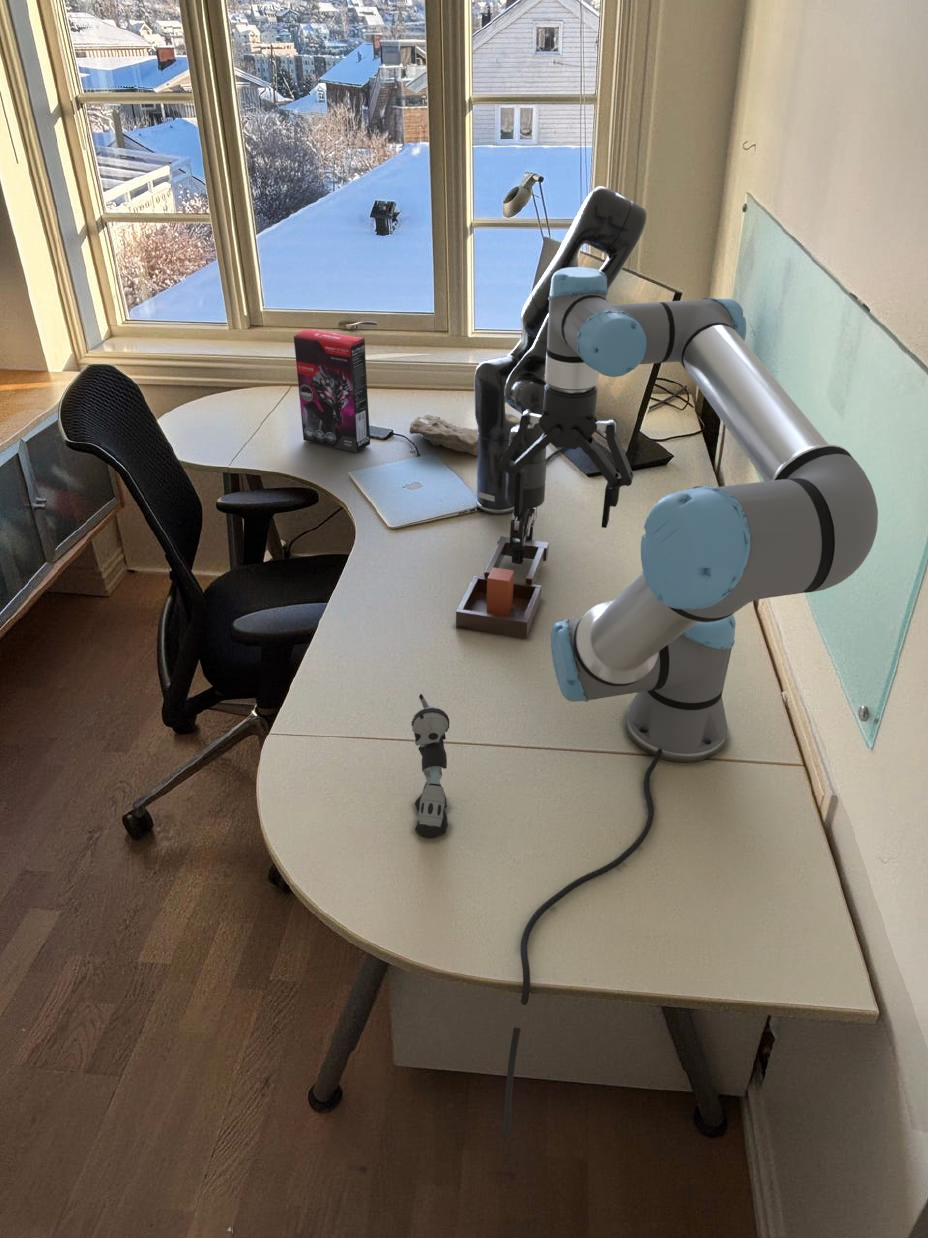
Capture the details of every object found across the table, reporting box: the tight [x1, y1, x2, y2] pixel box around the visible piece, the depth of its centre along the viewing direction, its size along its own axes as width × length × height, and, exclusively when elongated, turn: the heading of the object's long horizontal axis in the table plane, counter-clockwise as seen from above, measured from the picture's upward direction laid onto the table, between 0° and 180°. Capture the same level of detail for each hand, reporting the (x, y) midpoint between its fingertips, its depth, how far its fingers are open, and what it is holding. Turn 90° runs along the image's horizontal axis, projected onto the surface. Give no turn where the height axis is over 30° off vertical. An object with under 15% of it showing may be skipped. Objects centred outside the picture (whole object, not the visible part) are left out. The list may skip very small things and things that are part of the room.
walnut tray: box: [455, 535, 550, 640], centre depth 175 cm, size 28×13×4 cm, turn 165°
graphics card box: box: [293, 328, 371, 453], centre depth 227 cm, size 17×7×27 cm, turn 62°
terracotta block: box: [486, 567, 515, 617], centre depth 167 cm, size 4×4×8 cm
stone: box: [409, 414, 478, 457], centre depth 232 cm, size 21×15×6 cm
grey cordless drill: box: [410, 693, 450, 839], centre depth 122 cm, size 20×5×20 cm, turn 3°
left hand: (522, 552), depth 185 cm, fingers open, 8 cm apart
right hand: (561, 518), depth 142 cm, fingers open, 13 cm apart
